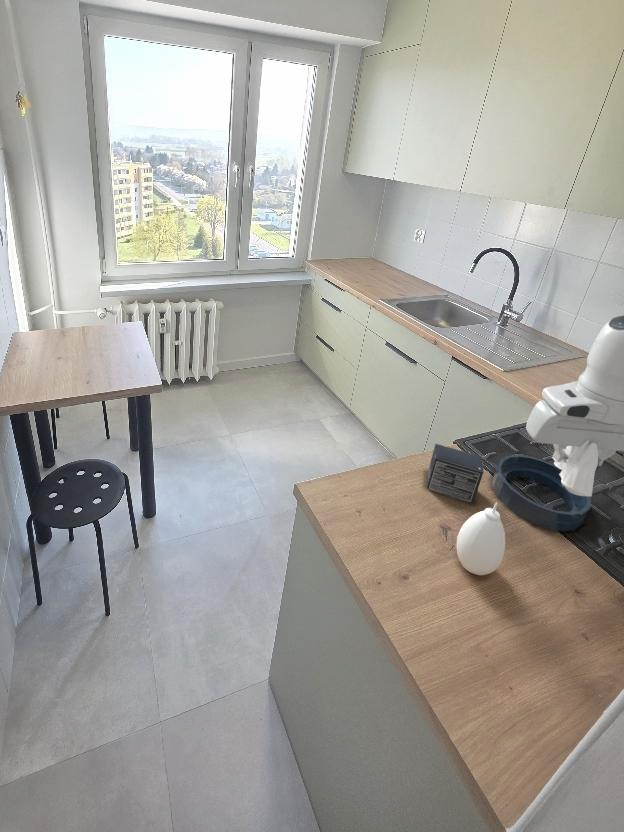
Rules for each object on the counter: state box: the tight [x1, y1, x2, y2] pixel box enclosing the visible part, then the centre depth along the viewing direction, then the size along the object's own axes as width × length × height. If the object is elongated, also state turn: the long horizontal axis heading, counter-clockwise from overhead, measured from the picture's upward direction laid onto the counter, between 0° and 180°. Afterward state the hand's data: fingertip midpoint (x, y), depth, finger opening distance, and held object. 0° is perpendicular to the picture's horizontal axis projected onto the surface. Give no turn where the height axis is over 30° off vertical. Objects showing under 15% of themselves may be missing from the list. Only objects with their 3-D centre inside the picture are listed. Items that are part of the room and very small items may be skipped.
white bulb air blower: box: [456, 501, 506, 576], centre depth 81 cm, size 8×8×18 cm
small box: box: [426, 443, 485, 504], centre depth 101 cm, size 11×6×10 cm, turn 66°
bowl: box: [491, 454, 592, 532], centre depth 100 cm, size 18×18×6 cm
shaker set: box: [551, 440, 599, 498], centre depth 79 cm, size 12×4×11 cm, turn 153°
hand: (575, 461), depth 80 cm, fingers closed on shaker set, 5 cm apart
